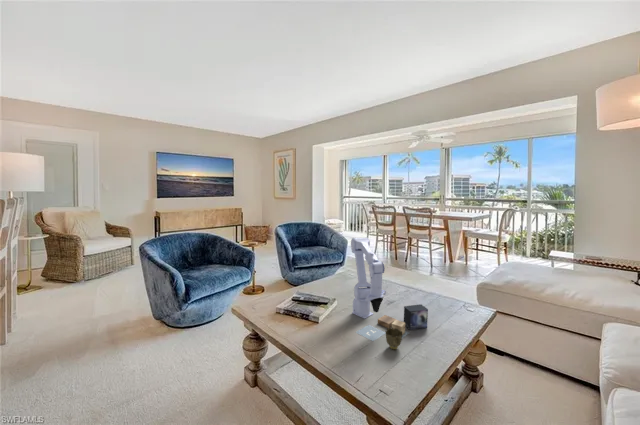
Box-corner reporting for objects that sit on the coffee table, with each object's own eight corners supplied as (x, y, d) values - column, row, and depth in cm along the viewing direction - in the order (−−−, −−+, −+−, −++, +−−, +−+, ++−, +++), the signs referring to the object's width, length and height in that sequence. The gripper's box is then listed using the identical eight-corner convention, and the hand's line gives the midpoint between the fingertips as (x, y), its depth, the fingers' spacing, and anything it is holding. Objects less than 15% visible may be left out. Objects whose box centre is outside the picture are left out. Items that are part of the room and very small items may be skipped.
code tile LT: (355, 332, 139) (355, 332, 139) (368, 325, 146) (368, 324, 146) (373, 341, 131) (373, 341, 131) (386, 333, 138) (386, 332, 138)
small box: (409, 331, 140) (410, 311, 139) (402, 324, 146) (403, 305, 145) (427, 328, 142) (428, 309, 141) (420, 322, 149) (421, 303, 148)
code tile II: (387, 332, 138) (387, 332, 138) (395, 327, 144) (395, 326, 144) (401, 339, 133) (401, 338, 133) (409, 333, 138) (409, 332, 138)
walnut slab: (377, 324, 147) (377, 319, 147) (385, 320, 152) (385, 314, 152) (388, 329, 142) (389, 323, 142) (396, 324, 147) (396, 319, 147)
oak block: (391, 333, 138) (391, 323, 137) (395, 328, 142) (395, 319, 141) (401, 336, 135) (401, 326, 134) (405, 332, 139) (405, 322, 138)
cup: (389, 341, 131) (389, 325, 130) (404, 347, 126) (405, 330, 125) (382, 348, 125) (382, 332, 124) (397, 355, 120) (398, 337, 119)
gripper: (374, 291, 131) (373, 319, 132) (391, 284, 141) (390, 309, 142) (362, 287, 136) (362, 314, 137) (379, 280, 146) (379, 305, 147)
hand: (375, 311), depth 140 cm, fingers closed
